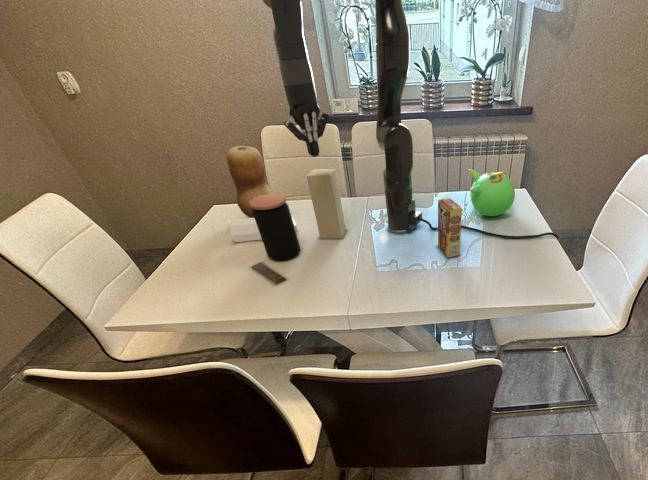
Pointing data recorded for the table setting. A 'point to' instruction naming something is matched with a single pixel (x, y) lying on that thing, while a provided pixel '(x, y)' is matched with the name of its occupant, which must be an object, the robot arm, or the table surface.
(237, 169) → the butternut squash
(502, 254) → the table surface
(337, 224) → the beige tall block
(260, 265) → the walnut ruler
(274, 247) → the coffee jar
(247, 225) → the crystal
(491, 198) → the toy bird
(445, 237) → the candy box
